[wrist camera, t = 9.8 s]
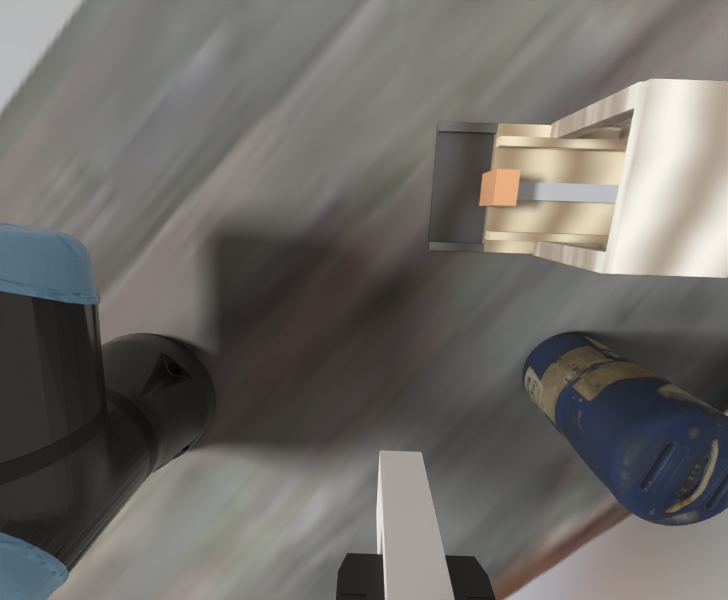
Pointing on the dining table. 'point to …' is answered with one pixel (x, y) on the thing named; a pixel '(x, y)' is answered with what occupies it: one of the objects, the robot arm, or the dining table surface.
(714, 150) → the cream wooden rail frame
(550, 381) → the canister
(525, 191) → the orange and grey bar
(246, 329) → the dining table surface
